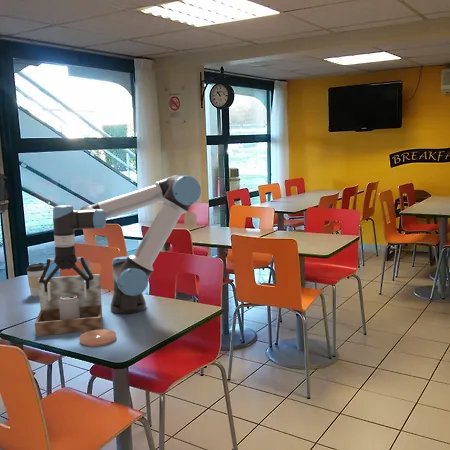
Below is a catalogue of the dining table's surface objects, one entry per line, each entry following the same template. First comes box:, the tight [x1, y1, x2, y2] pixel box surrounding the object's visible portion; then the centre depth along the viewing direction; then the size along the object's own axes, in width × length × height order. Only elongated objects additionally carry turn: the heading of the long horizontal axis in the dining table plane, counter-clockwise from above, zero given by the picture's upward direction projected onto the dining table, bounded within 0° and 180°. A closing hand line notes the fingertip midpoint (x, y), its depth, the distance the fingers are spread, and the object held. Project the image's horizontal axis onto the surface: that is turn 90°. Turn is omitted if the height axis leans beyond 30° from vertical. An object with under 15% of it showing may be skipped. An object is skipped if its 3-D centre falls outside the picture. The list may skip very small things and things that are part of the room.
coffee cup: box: [25, 262, 47, 297], centre depth 243 cm, size 9×9×15 cm
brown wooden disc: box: [78, 328, 117, 347], centre depth 184 cm, size 13×13×2 cm
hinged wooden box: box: [34, 273, 103, 337], centre depth 198 cm, size 24×17×18 cm
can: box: [59, 295, 80, 320], centre depth 198 cm, size 8×8×12 cm
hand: (67, 298), depth 197 cm, fingers open, 13 cm apart
